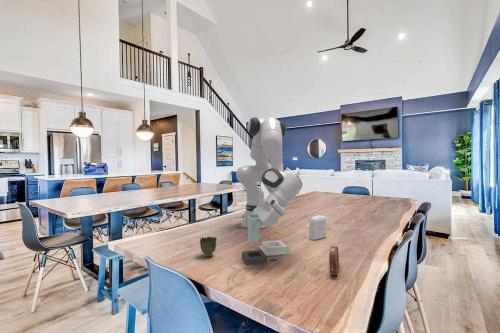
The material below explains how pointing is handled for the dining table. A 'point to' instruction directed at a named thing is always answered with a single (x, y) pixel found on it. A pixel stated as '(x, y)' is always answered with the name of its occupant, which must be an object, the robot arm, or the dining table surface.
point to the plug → (252, 233)
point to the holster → (254, 257)
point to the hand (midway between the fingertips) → (252, 227)
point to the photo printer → (317, 227)
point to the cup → (208, 245)
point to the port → (274, 248)
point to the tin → (334, 260)
